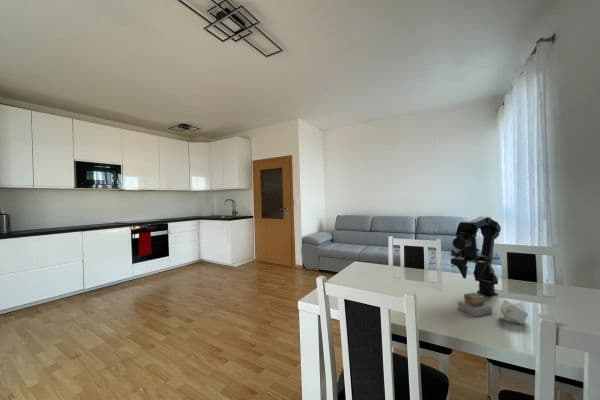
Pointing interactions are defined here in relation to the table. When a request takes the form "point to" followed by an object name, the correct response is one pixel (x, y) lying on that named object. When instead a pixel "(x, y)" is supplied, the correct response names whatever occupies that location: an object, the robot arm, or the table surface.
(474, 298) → the block
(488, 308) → the base
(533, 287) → the table surface
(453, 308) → the table surface
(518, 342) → the table surface
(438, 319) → the table surface
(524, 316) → the die
